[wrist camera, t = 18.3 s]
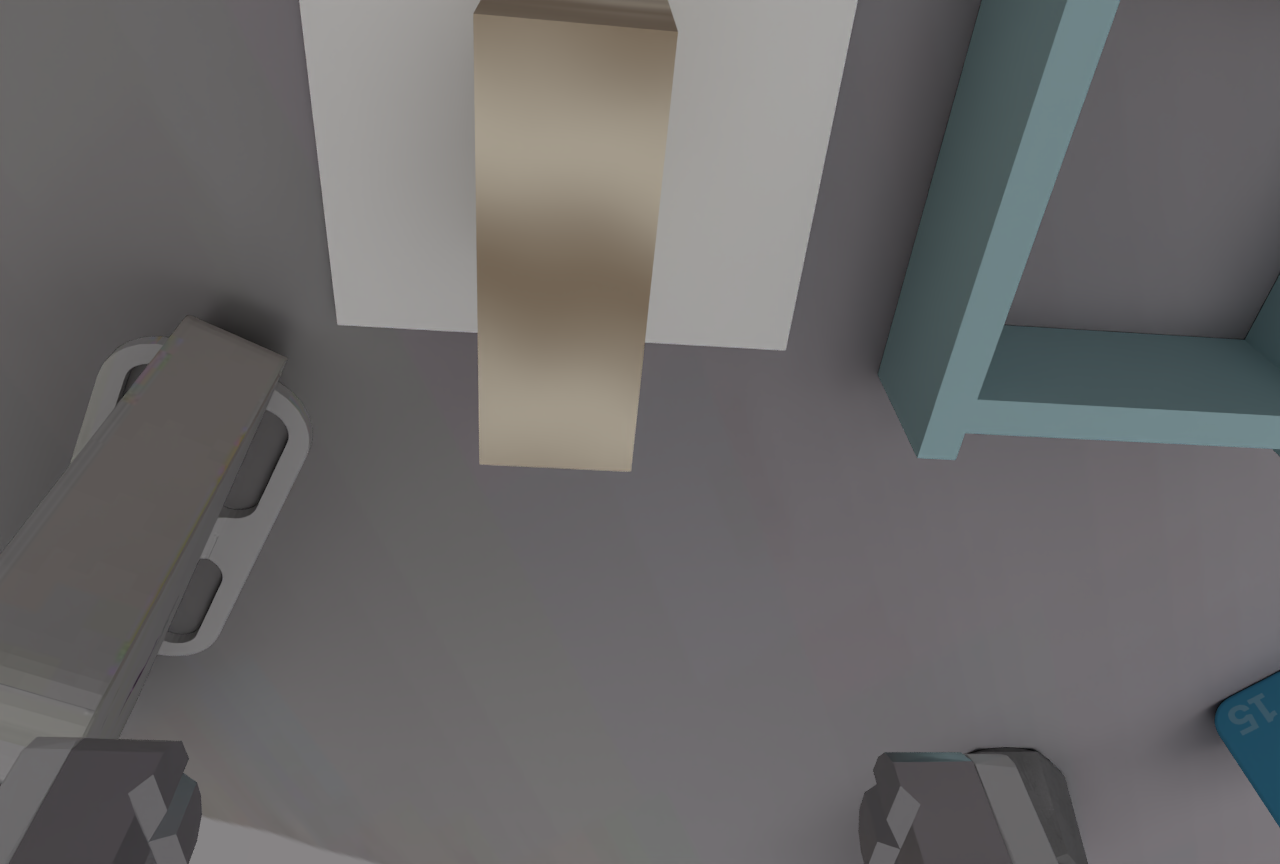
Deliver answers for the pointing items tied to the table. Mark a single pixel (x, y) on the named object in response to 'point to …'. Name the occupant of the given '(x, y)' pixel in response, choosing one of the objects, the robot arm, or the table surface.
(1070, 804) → the coffeepot
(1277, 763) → the data package
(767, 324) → the pad
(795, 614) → the table surface
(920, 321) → the tray
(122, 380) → the network device
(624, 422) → the beige wooden block
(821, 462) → the table surface
